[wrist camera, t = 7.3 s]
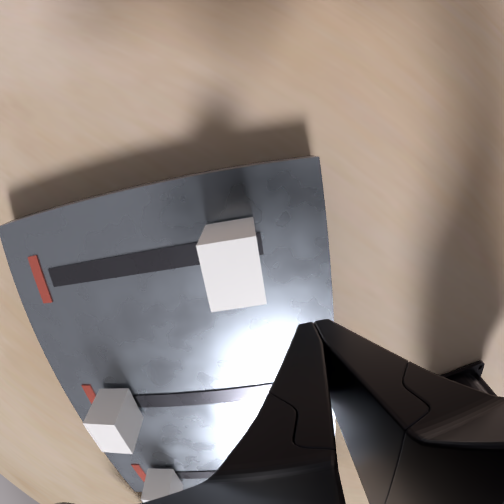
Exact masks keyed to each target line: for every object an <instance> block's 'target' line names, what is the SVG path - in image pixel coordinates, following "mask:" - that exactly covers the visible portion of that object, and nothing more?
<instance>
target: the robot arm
mask: <svg viewBox="0 0 504 504" xmlns="http://www.w3.org/2000/svg"><path fill="white" fill-rule="evenodd" d="M483 368H484V363H483V362H482V361H478V362H475V363H473V364H470V365H468V366H465V367H463V368H460V369H458V370H455V371H452V372H450V373H447V374H444V375H441V376H439V375H437V374H435V373H432V372H430V371H428V370H426V369H424V368H422V367H420V366H418V365H416V364H414V363H412V362H408V360H406V359H404V358H402V357H400V356H398V355H396V354H394V353H392V352H390V351H389V350H387V349H385V348H383V347H381V346H379V345H377V344H375V343H373V342H371V341H369V340H367V339H366V338H364V337H362V336H360V335H358V334H356V333H354V332H352V331H350V330H348V329H347V328H345V327H343V326H341V325H339V324H337V323H335V322H333V321H332V320H330V319H323V320H318V321H315V322H314V323H313V322H307V323H302V324H299V325H298V327H297V329H296V331H295V334H294V336H293V338H292V341H291V343H290V345H289V348H288V350H287V352H286V355H285V357H284V359H283V361H282V364H281V366H280V368H279V370H278V373H277V375H276V377H275V379H274V381H273V384H272V386H271V388H270V390H269V392H268V394H267V396H266V398H265V400H264V403H263V405H262V406H261V408H260V410H259V412H258V414H257V416H256V418H255V419H254V421H253V422H252V424H251V425H250V427H249V428H248V430H247V431H246V432H245V434H244V435H243V437H242V438H241V439H240V441H239V442H238V443H237V445H236V446H235V447H234V449H233V450H232V451H231V453H230V454H229V455H228V457H227V458H226V459H225V461H224V462H223V463H222V465H221V466H220V467H219V468H218V470H217V471H216V472H215V473H214V474H213V475H212V476H211V477H209V478H208V479H207V480H205V481H204V482H202V483H200V484H198V485H196V486H193V487H190V488H187V489H185V490H182V491H179V492H176V493H173V494H170V495H167V496H164V497H160V498H157V499H154V500H150V501H147V502H144V503H140V504H346V503H345V498H344V494H343V489H342V485H341V480H340V476H339V471H338V463H337V453H336V443H335V433H334V424H333V415H332V409H333V411H334V414H335V416H336V419H337V422H338V424H339V427H340V429H341V432H342V434H343V437H344V439H345V442H346V444H347V447H348V449H349V452H350V455H351V457H352V460H353V462H354V465H355V467H356V470H357V472H358V475H359V478H360V480H361V483H362V485H363V488H364V491H365V493H366V496H367V498H368V501H369V504H504V397H498V396H497V395H496V394H495V393H494V392H493V391H492V389H491V388H490V387H489V386H488V385H487V383H486V382H485V381H484V380H483V379H482V378H481V374H482V371H483ZM56 504H73V503H65V502H61V503H56Z"/></svg>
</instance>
